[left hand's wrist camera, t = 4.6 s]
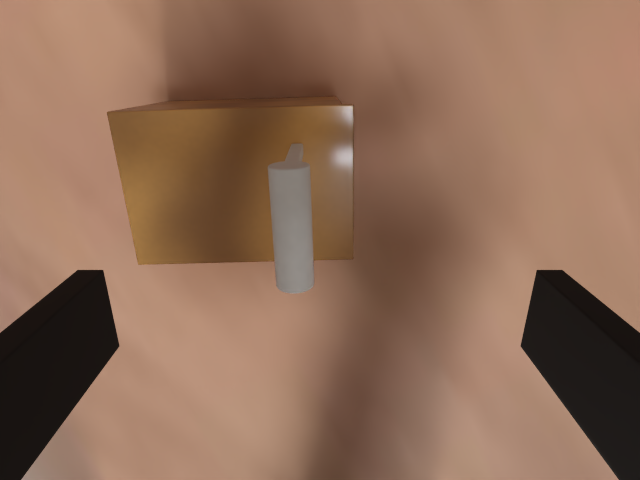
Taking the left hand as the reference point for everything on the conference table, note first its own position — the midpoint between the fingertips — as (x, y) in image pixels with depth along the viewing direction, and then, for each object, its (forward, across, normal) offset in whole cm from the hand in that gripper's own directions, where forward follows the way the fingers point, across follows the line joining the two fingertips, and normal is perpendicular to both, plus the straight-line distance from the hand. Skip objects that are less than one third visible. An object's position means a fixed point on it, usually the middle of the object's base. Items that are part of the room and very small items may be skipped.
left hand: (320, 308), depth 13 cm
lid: (+15, +5, 0) cm, 15 cm away
